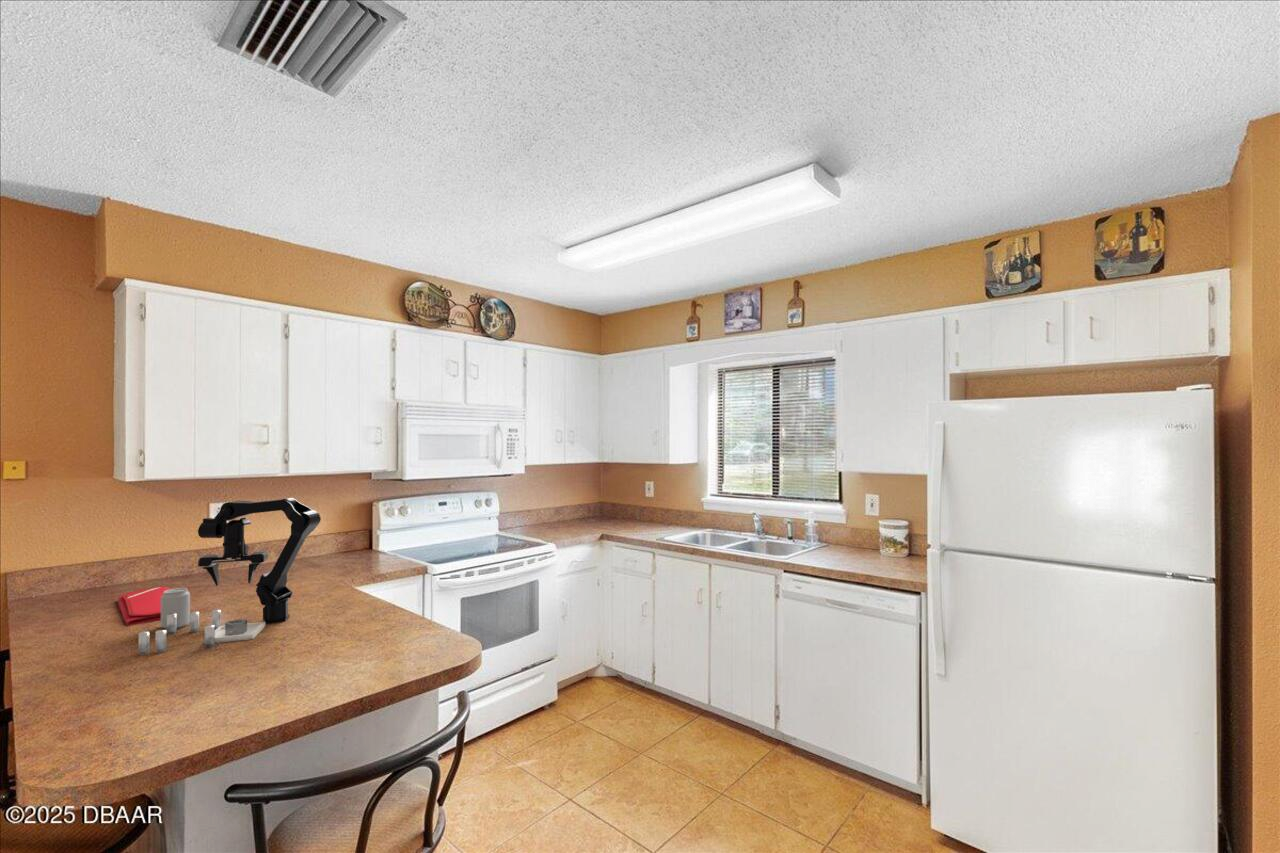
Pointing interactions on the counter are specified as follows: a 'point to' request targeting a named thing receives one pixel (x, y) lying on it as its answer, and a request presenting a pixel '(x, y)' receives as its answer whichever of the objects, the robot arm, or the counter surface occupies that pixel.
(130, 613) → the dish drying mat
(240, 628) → the grey faceted icosahedron
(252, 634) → the tray
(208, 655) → the counter surface
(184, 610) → the can
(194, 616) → the spacer posts
